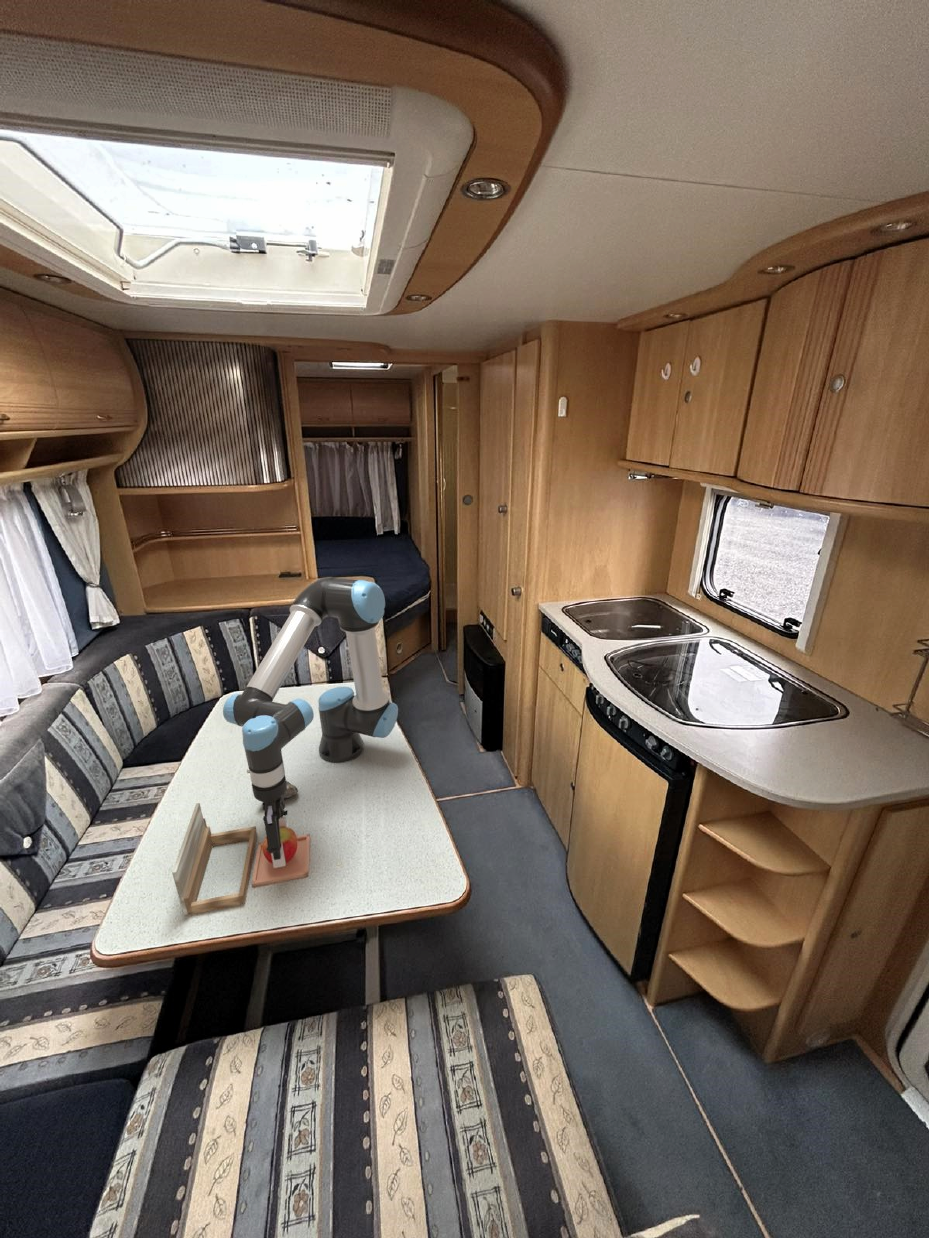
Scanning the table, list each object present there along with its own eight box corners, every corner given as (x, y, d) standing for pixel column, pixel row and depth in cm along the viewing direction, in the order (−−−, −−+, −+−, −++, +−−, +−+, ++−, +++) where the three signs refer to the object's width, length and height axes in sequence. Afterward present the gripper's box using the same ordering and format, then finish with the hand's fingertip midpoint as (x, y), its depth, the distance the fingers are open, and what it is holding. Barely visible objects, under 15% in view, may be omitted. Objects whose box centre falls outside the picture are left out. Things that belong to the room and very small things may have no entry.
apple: (266, 876, 124) (260, 845, 120) (264, 851, 131) (258, 821, 127) (301, 865, 127) (296, 834, 123) (297, 841, 134) (292, 811, 130)
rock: (254, 791, 144) (263, 769, 153) (254, 808, 146) (262, 785, 155) (295, 794, 146) (302, 771, 155) (294, 810, 148) (300, 787, 157)
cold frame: (258, 833, 138) (250, 791, 133) (245, 906, 117) (235, 861, 112) (207, 841, 136) (196, 800, 130) (184, 918, 115) (171, 872, 109)
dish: (310, 839, 136) (309, 833, 136) (308, 878, 125) (307, 872, 124) (259, 848, 134) (258, 843, 133) (252, 889, 122) (251, 883, 121)
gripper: (257, 754, 128) (270, 823, 137) (244, 812, 109) (260, 889, 117) (288, 749, 130) (299, 818, 138) (281, 806, 111) (294, 882, 119)
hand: (281, 851), depth 128 cm, fingers closed on apple, 8 cm apart
